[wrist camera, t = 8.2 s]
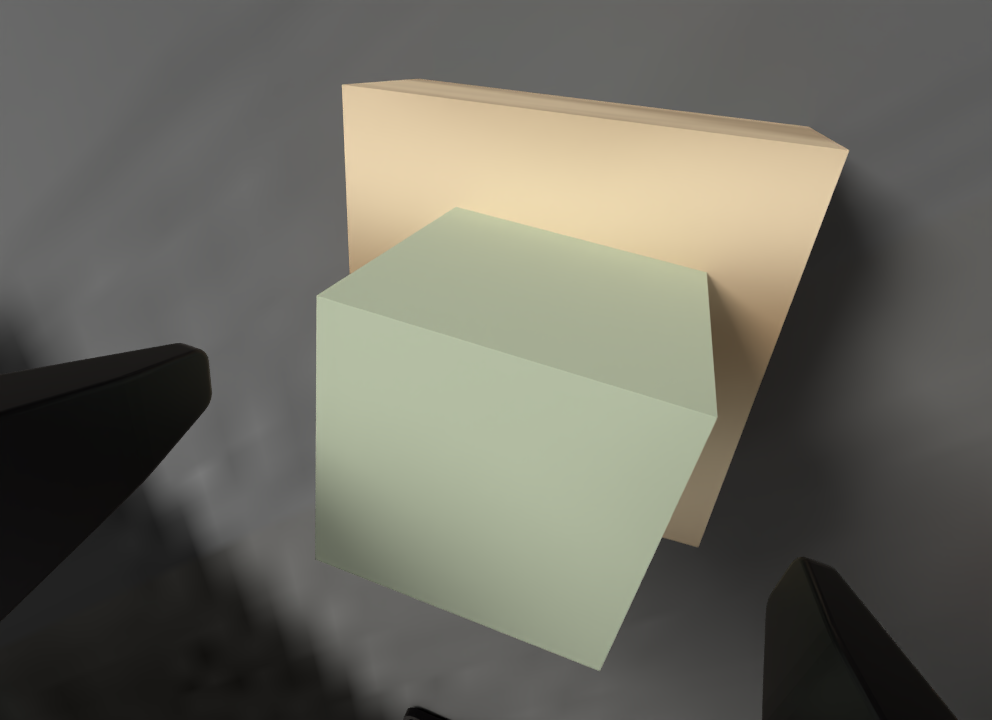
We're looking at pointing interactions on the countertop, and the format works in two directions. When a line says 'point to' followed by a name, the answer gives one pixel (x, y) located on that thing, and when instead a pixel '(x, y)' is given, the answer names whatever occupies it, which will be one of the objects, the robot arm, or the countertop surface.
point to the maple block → (608, 207)
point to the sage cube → (510, 424)
